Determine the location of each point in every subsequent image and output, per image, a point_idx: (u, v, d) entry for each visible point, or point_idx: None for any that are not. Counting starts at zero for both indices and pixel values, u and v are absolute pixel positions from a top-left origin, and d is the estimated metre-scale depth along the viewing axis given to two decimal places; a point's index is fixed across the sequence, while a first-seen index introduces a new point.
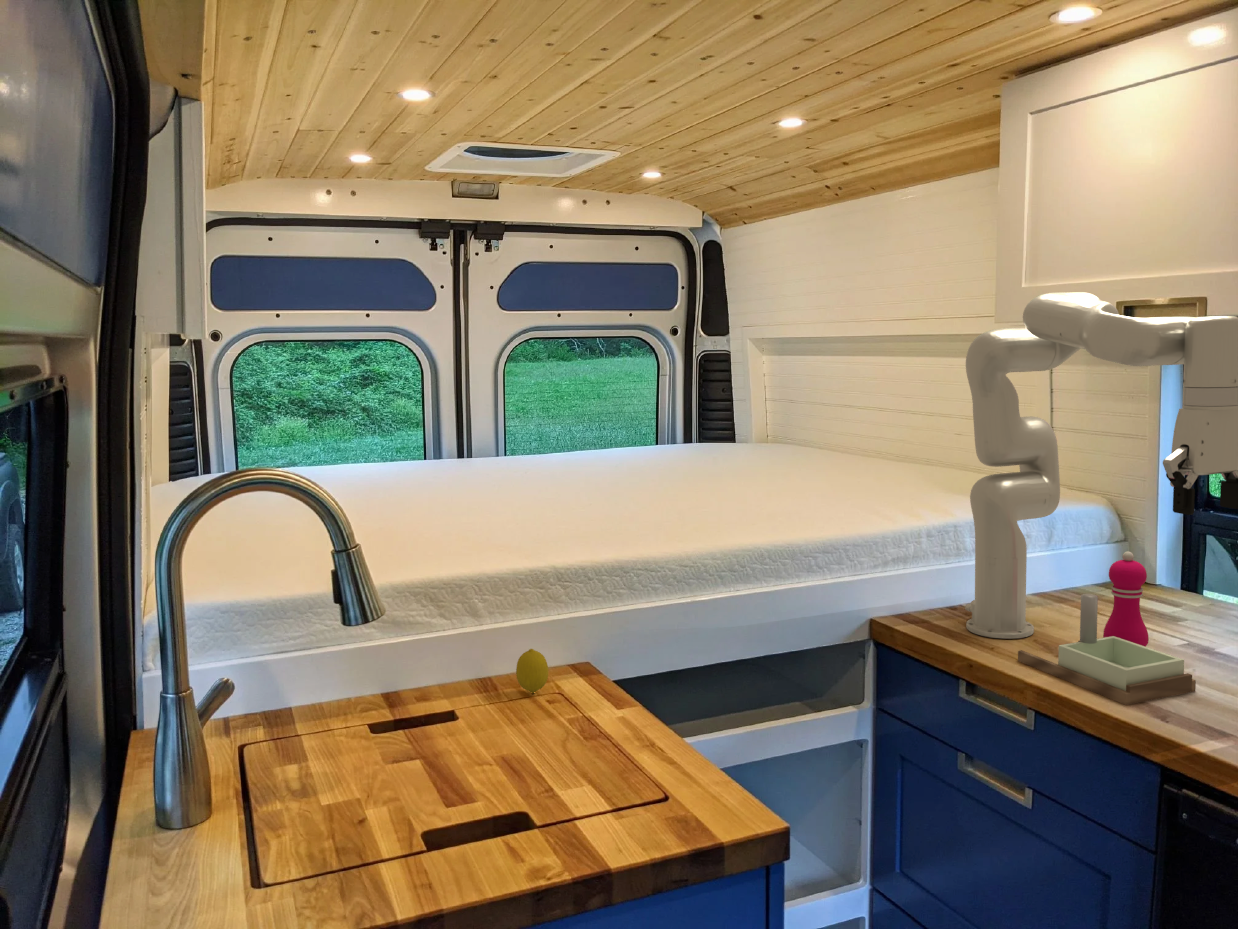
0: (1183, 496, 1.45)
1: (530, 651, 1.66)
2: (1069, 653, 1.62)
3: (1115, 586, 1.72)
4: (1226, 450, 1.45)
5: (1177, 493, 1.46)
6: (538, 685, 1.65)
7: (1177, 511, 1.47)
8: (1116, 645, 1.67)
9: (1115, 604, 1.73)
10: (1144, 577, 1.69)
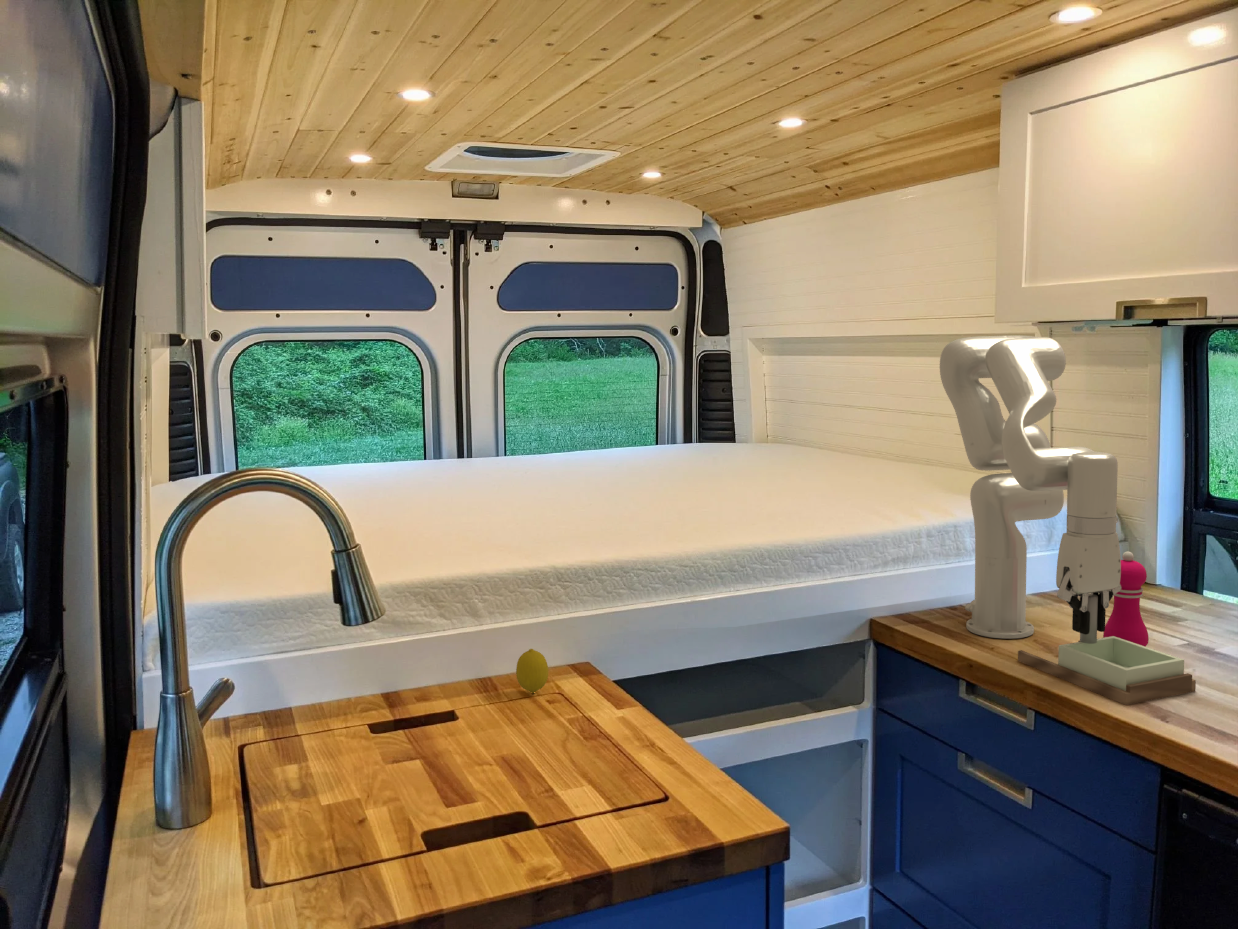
0: (1079, 618, 1.64)
1: (530, 651, 1.66)
2: (1069, 653, 1.62)
3: None
4: (1103, 572, 1.62)
5: (1075, 614, 1.65)
6: (538, 685, 1.65)
7: (1075, 630, 1.66)
8: (1116, 645, 1.67)
9: (1115, 604, 1.73)
10: (1144, 577, 1.69)
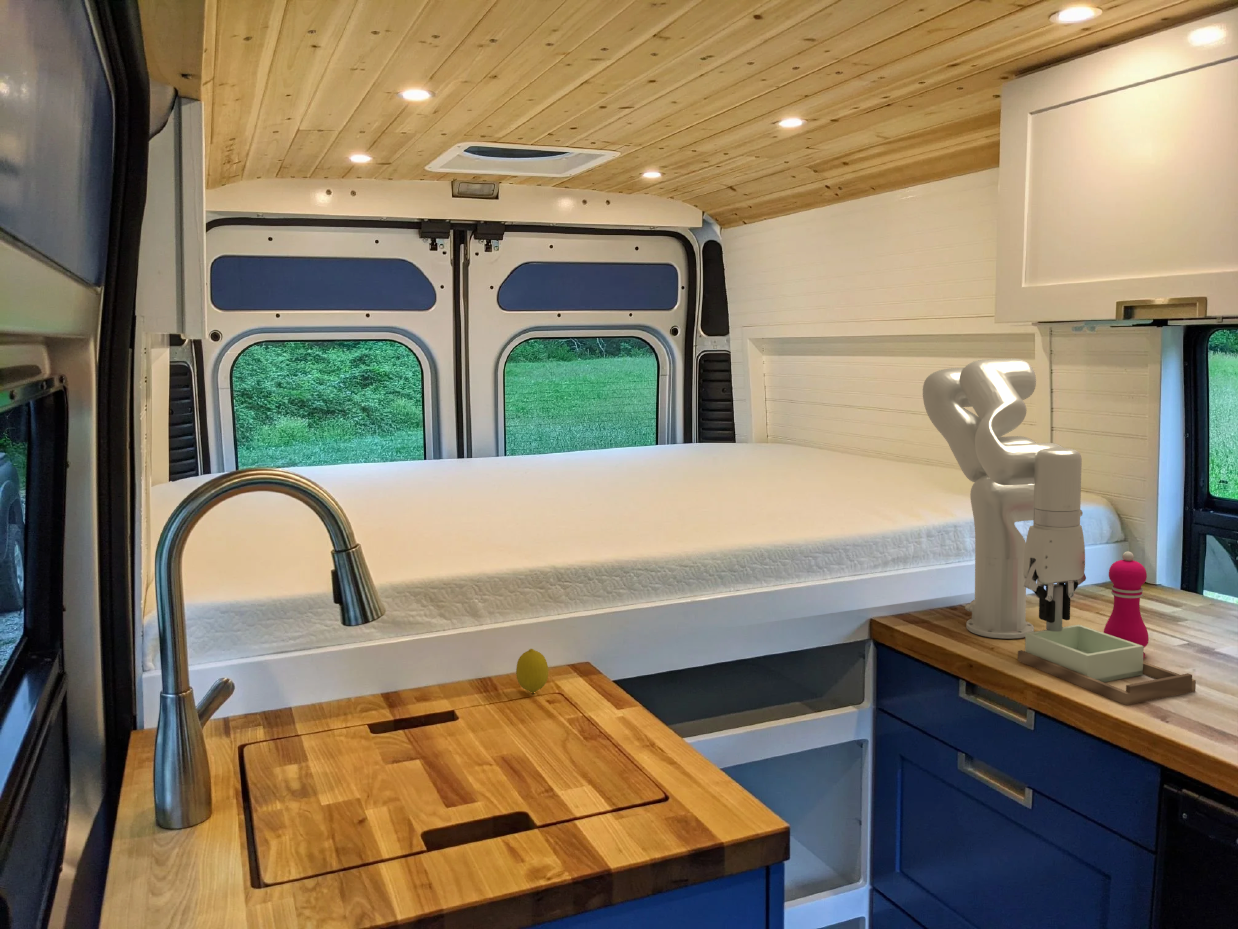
0: (1045, 607, 1.71)
1: (530, 651, 1.66)
2: (1035, 640, 1.69)
3: (1115, 586, 1.72)
4: (1068, 563, 1.69)
5: (1041, 604, 1.72)
6: (538, 685, 1.65)
7: (1042, 618, 1.73)
8: (1081, 633, 1.74)
9: (1115, 604, 1.73)
10: (1144, 577, 1.69)
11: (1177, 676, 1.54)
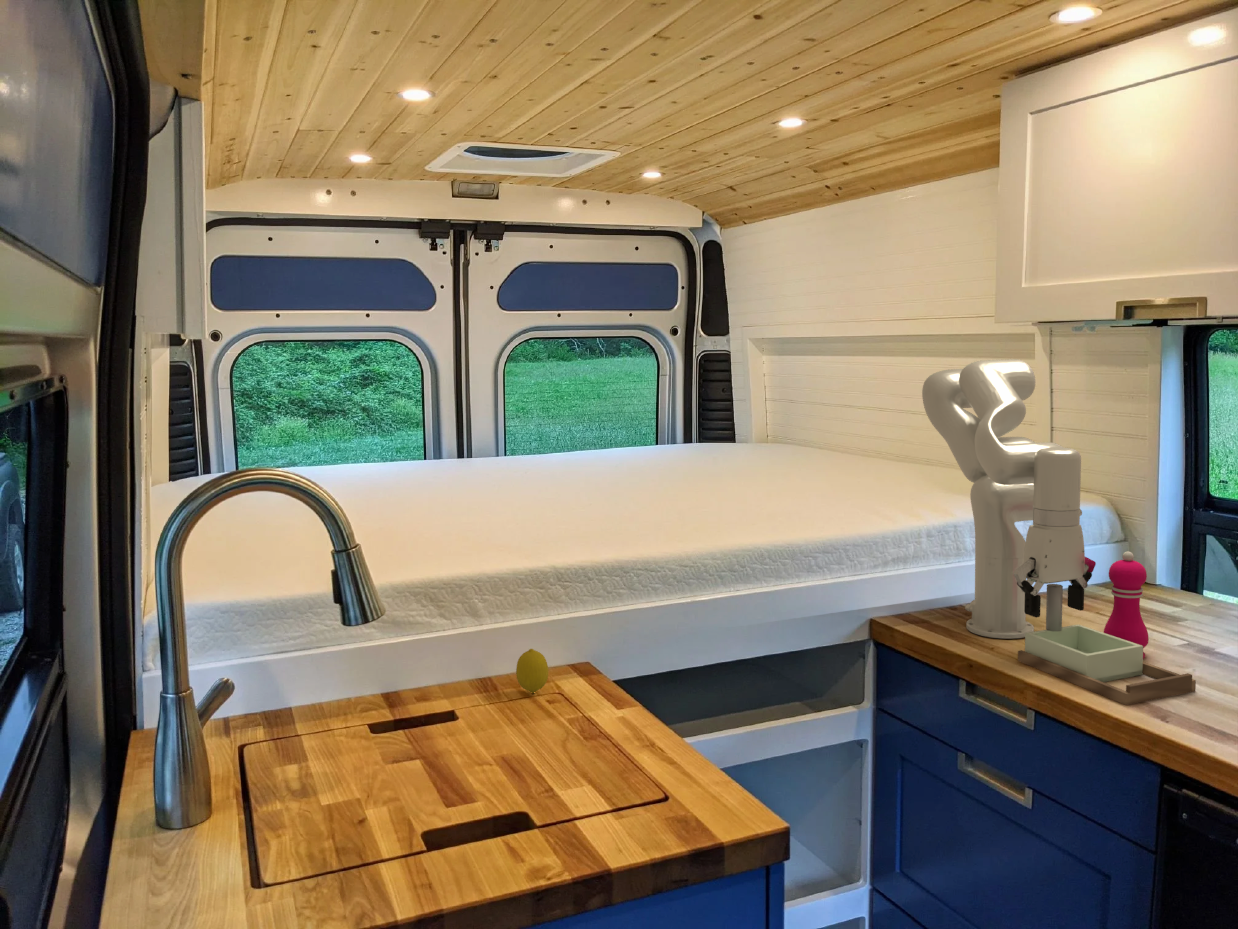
0: (1030, 601, 1.70)
1: (530, 651, 1.66)
2: (1035, 640, 1.69)
3: (1115, 586, 1.72)
4: (1067, 562, 1.70)
5: (1026, 598, 1.71)
6: (538, 685, 1.65)
7: (1027, 613, 1.72)
8: (1081, 633, 1.74)
9: (1115, 604, 1.73)
10: (1144, 577, 1.69)
11: (1177, 676, 1.54)
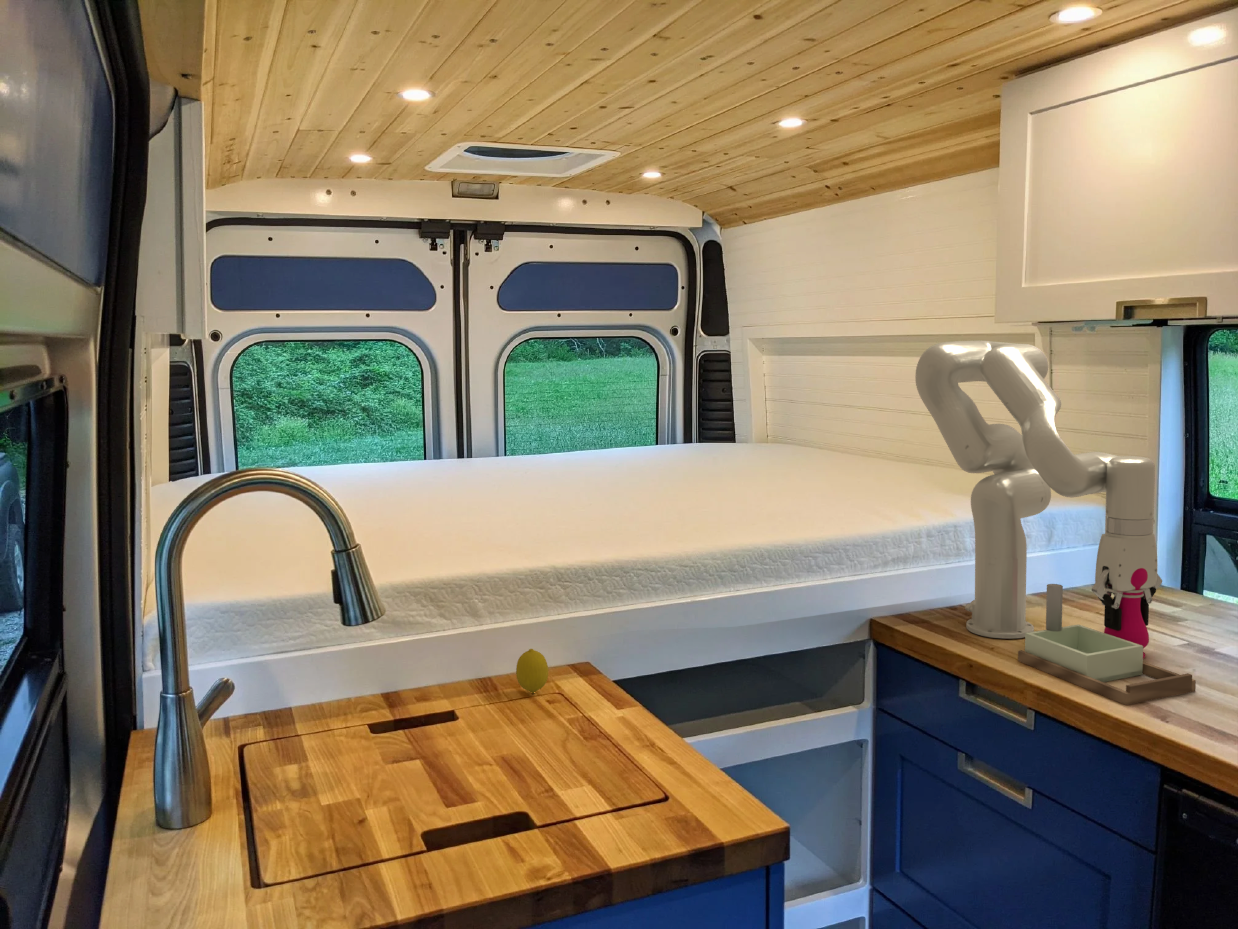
0: (1111, 615, 1.70)
1: (530, 651, 1.66)
2: (1035, 640, 1.69)
3: None
4: None
5: (1107, 611, 1.71)
6: (538, 685, 1.65)
7: (1107, 626, 1.72)
8: (1081, 633, 1.74)
9: None
10: (1145, 576, 1.69)
11: (1177, 676, 1.54)
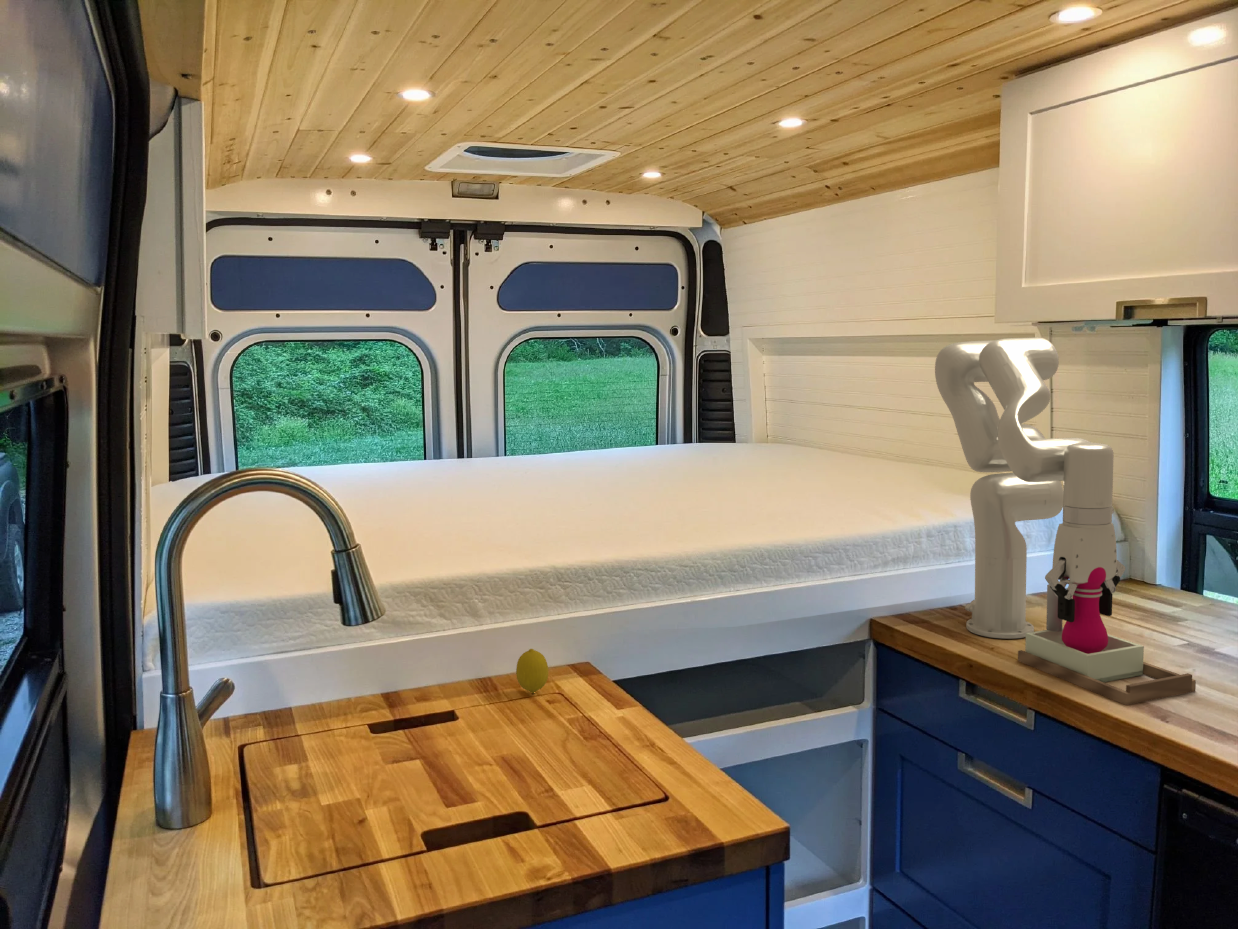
0: (1064, 606, 1.64)
1: (530, 651, 1.66)
2: (1035, 640, 1.69)
3: None
4: (1099, 562, 1.63)
5: (1060, 602, 1.64)
6: (538, 685, 1.65)
7: (1061, 618, 1.65)
8: None
9: None
10: (1103, 575, 1.63)
11: (1177, 676, 1.54)
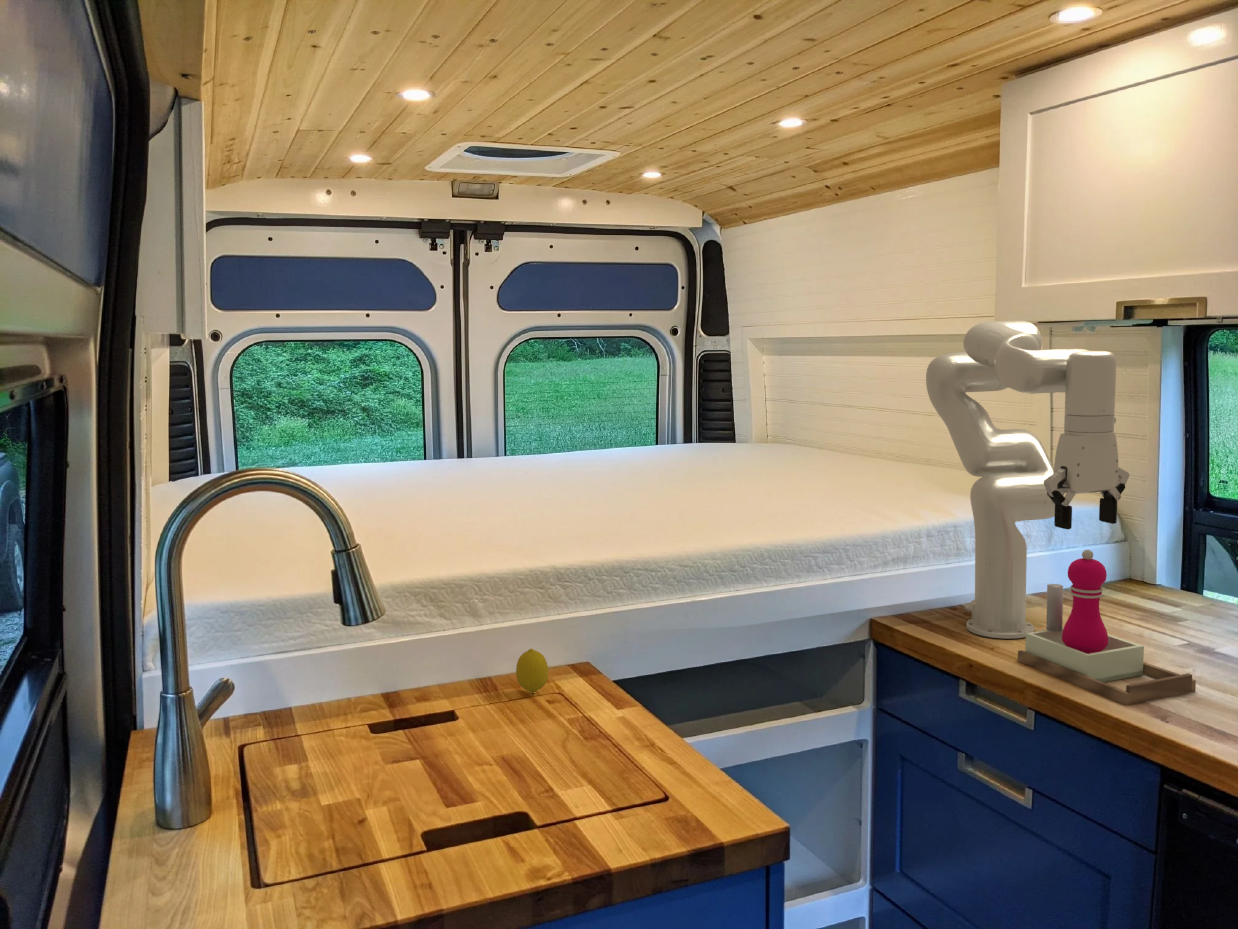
0: (1061, 513, 1.62)
1: (530, 651, 1.66)
2: (1035, 640, 1.69)
3: (1074, 586, 1.65)
4: (1100, 471, 1.61)
5: (1057, 509, 1.63)
6: (538, 685, 1.65)
7: (1058, 525, 1.64)
8: None
9: (1074, 604, 1.66)
10: (1104, 576, 1.63)
11: (1177, 676, 1.54)
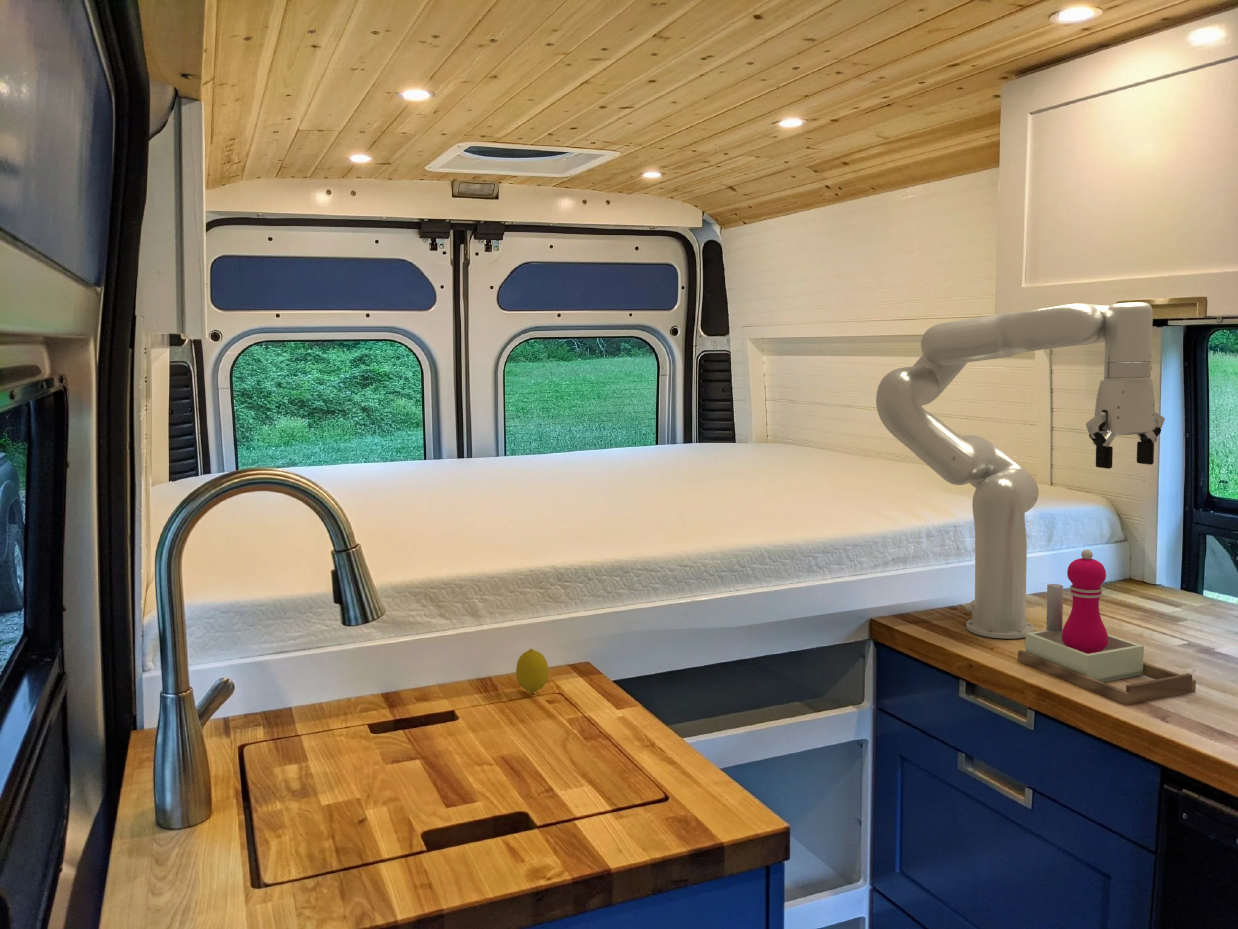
0: (1103, 453, 1.74)
1: (530, 651, 1.66)
2: (1035, 640, 1.69)
3: (1074, 585, 1.66)
4: (1139, 414, 1.74)
5: (1098, 450, 1.75)
6: (538, 685, 1.65)
7: (1099, 466, 1.76)
8: None
9: (1073, 604, 1.66)
10: (1103, 576, 1.63)
11: (1177, 676, 1.54)
